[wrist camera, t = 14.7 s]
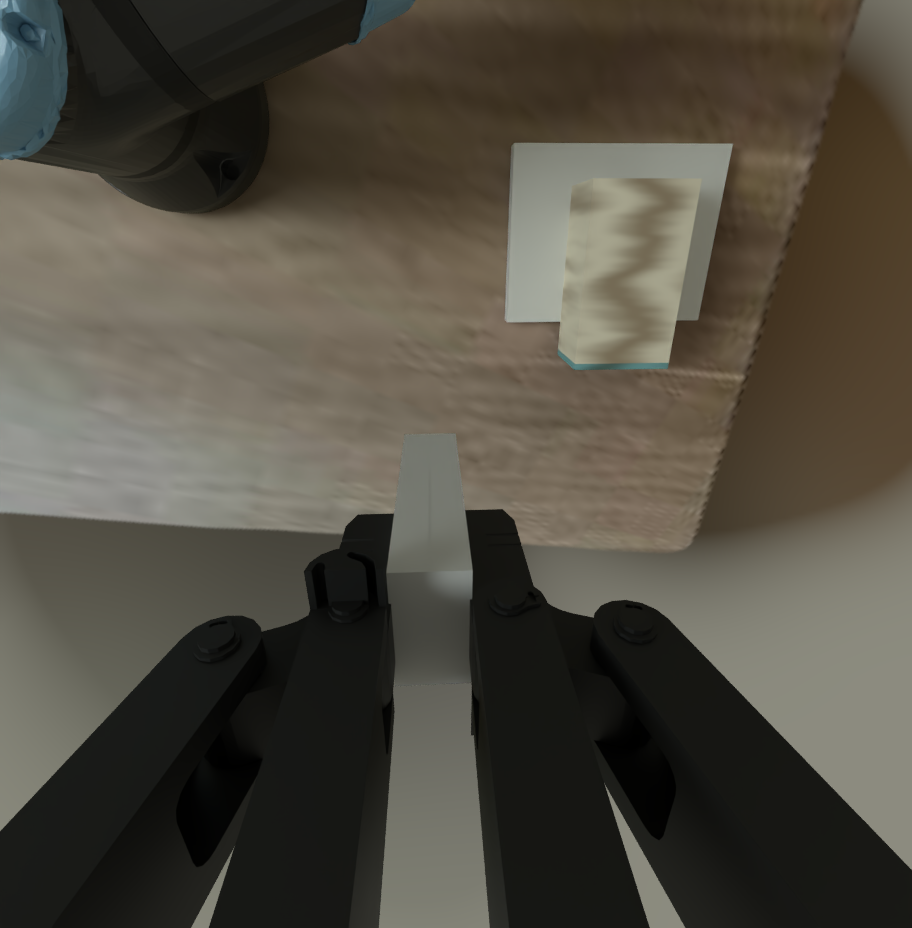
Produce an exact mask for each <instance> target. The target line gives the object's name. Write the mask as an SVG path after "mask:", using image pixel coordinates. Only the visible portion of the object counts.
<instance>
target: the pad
mask: <svg viewBox="0 0 912 928" xmlns="http://www.w3.org/2000/svg"><path fill="white" fill-rule="evenodd" d="M732 146H733V144H667V143H514V144H513V145H512V146H511V168H510V195H509V221H508V248H507V274H506V301H505V321H506V322H560V321H561V309H562V297H563V286H564V274H565V262H566V250H567V239H568V227H569V215H570V203H571V192H572V186H573V185H576V184H579V183H582V182H585V181H587V180H590V179H593V178H694V179H702V182H701V187H700V193H699V198H698V204H697V209H696V215H695V220H694V226H693V231H692V237H691V242H690V248H689V253H688V259H687V264H686V270H685V275H684V281H683V286H682V292H681V297H680V303H679V308H678V314H677V319H676V320H698V317H699V312H700V307H701V302H702V297H703V292H704V287H705V282H706V277H707V272H708V267H709V262H710V257H711V252H712V247H713V242H714V237H715V232H716V227H717V222H718V217H719V212H720V207H721V201H722V196H723V191H724V186H725V181H726V176H727V171H728V166H729V161H730V156H731V151H732Z"/></svg>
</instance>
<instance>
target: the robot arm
mask: <svg viewBox="0 0 912 928" xmlns="http://www.w3.org/2000/svg"><path fill="white" fill-rule="evenodd" d="M414 2H415V0H0V160H3V159H4V158H5V159H9V160H14V159H18V160H24V161H29V162H35V163H40V164H46V165H51V166H57V167H62V168H68V169H73V170H79V171H84V172H90V173H95V174H98V175H99V176H100V177H102V178H103V179H104V180H105V181H106V182H107V183H109V184H110V185H111V186H112V187H114V188H115V189H117V190H118V191H120V192H121V193H123V194H124V195H126V196H128V197H130V198H131V199H133V200H135V201H138V202H140V203H142V204H145V205H147V206H150V207H153V208H156V209H160V210H165V211H171V212H180V213H202V212H208V211H212V210H216V209H219V208H221V207H223V206H225V205H227V204H229V203H231V202H232V201H234V200H235V199H237V198H238V197H239V196H240V195H241V194H242V193H243V192H244V191H245V190H246V189H247V188H248V187H249V186H250V184H251V183H252V182H253V180H254V179H255V177H256V175H257V173H258V171H259V169H260V167H261V165H262V162H263V159H264V156H265V153H266V148H267V143H268V135H269V113H268V104H267V98H266V93H265V89H264V85H263V82H264V81H266V80H268V79H270V78H272V77H275V76H277V75H279V74H281V73H283V72H286V71H288V70H290V69H292V68H294V67H297V66H299V65H301V64H303V63H305V62H307V61H310V60H312V59H314V58H316V57H318V56H321V55H323V54H325V53H327V52H329V51H332V50H334V49H336V48H338V47H340V46H343V45H345V44H347V43H348V44H349V45H355V44H358V43H360V42H361V40H362V39H364V38H365V37H366V36H367V34H368V32H370V31H372V30H374V29H375V28H377V27H379V26H381V25H383V24H385V23H387V22H388V21H390V20H392V19H394V18H396V17H398V16H400V15H402V14H403V13H405V12H406V11H407V10H409V8H410V7H411V6H412V5H413V3H414ZM304 574H305V581H306V587H307V593H308V599H309V604H310V612H309V615H308V616H306V617H305V618H303V619H301V620H299V621H297V622H294V623H291V624H288V625H285V626H282V627H278V628H274V629H271V630H267V631H263V632H261V628H260V626H259V625H258V624H257V623H256V622H255V621H254V620H253V619H250V618H247V617H244V616H225V617H221V618H217V619H213V620H210V621H208V622H206V623H204V624H202V625H200V626H198V627H196V628H194V629H193V630H192V631H190V632H189V633H188V634H187V635H185V636H184V637H183V638H182V639H181V640H180V641H179V642H178V643H177V644H176V645H175V646H174V647H173V648H172V649H171V651H170V652H169V653H168V654H167V655H166V656H165V657H164V658H163V659H162V660H161V661H160V662H159V663H158V664H157V665H156V666H155V667H154V669H153V670H152V671H151V672H150V673H149V674H148V675H147V676H146V677H145V678H144V679H143V680H142V681H141V682H140V684H138V686H137V687H136V688H135V689H134V690H133V691H132V692H131V693H130V694H129V695H128V696H127V697H126V698H125V699H124V700H123V701H122V702H121V704H120V705H119V706H118V707H117V708H116V709H115V710H114V711H113V712H112V713H111V714H110V715H109V716H108V717H107V718H106V720H105V721H104V722H103V723H102V724H101V725H100V726H99V727H98V728H97V729H96V730H95V731H94V732H93V733H92V734H91V736H89V738H88V739H87V740H86V741H85V742H84V743H83V744H82V745H81V746H80V747H79V748H78V749H77V750H76V751H75V752H74V753H73V755H72V756H71V757H70V758H69V759H68V760H67V761H66V762H65V763H64V764H63V765H62V766H61V767H60V768H59V770H57V772H56V773H55V774H54V775H53V776H52V777H51V778H50V779H49V780H48V781H47V782H46V783H45V784H44V785H43V787H42V788H41V789H40V790H39V791H38V792H37V793H36V794H35V795H34V796H33V797H32V798H31V799H30V800H29V801H28V803H26V804H25V806H24V807H23V808H22V809H21V810H20V811H19V812H18V813H17V814H16V815H15V816H14V817H13V818H12V819H11V820H10V821H9V823H8V824H7V825H6V826H5V827H4V828H3V829H2V830H1V831H0V928H191V927H192V925H193V923H194V921H195V919H196V917H197V915H198V914H199V912H200V910H201V908H202V906H203V904H204V902H205V900H206V899H207V896H208V895H209V893H210V891H211V889H212V887H213V885H214V884H215V882H216V880H217V878H218V876H219V874H220V872H221V870H222V869H223V867H224V865H225V863H226V861H227V859H228V857H229V856H230V854H231V852H232V850H233V848H234V850H233V854H232V857H231V860H230V863H229V866H228V869H227V872H226V876H225V879H224V882H223V885H222V888H221V891H220V894H219V897H218V901H217V904H216V907H215V910H214V914H213V916H212V919H211V923H210V926H209V928H379V915H380V902H381V888H382V875H383V861H384V847H385V834H386V820H387V806H388V793H389V792H388V791H389V779H390V765H391V752H392V738H393V724H394V699H393V685H394V680H395V686H411V685H436V684H459V683H472V712H471V735H474V743H475V755H476V767H477V778H478V791H479V801H480V814H481V826H482V839H483V851H484V862H485V875H486V887H487V898H488V911H489V923H490V928H650V927H649V924H648V921H647V918H646V915H645V911H644V909H643V905H642V902H641V899H640V895H639V893H638V889H637V886H636V883H635V880H634V877H633V873H632V870H631V867H630V864H629V861H628V858H627V854H626V851H625V848H624V845H623V841H622V838H621V835H620V832H619V829H618V826H617V822H616V819H615V816H614V813H613V810H612V807H611V804H610V800H609V797H608V794H607V791H606V788H605V785H606V787H607V788H608V790H609V792H610V794H611V796H612V798H613V799H614V801H615V803H616V805H617V806H618V808H619V810H620V812H621V814H622V815H623V817H624V819H625V821H626V823H627V824H628V826H629V828H630V830H631V831H632V833H633V835H634V837H635V839H636V840H637V842H638V844H639V846H640V847H641V849H642V851H643V853H644V855H645V856H646V858H647V860H648V862H649V864H650V865H651V867H652V869H653V871H654V872H655V874H656V876H657V878H658V880H659V881H660V883H661V885H662V887H663V889H664V890H665V892H666V894H667V896H668V897H669V899H670V901H671V903H672V905H673V906H674V908H675V910H676V912H677V914H678V915H679V917H680V919H681V921H682V922H683V924H684V926H685V928H912V870H911V869H910V868H909V867H908V866H907V865H906V864H905V863H904V862H903V861H902V860H901V859H900V858H899V856H898V855H897V854H896V853H895V852H894V851H893V850H892V849H891V848H890V847H889V846H888V845H887V844H886V843H885V842H884V841H883V840H882V839H881V838H880V837H879V836H878V835H877V834H876V833H875V832H874V831H873V830H872V829H871V828H870V826H869V825H868V824H867V823H866V822H865V821H864V820H863V819H862V818H861V817H860V816H859V815H858V814H857V813H856V812H855V811H854V810H853V809H852V808H851V807H850V806H849V805H848V804H847V803H846V802H845V801H844V800H843V799H842V798H841V797H840V796H839V795H838V794H837V792H836V791H835V790H834V789H833V788H832V787H831V786H830V785H829V784H828V783H827V782H826V781H825V780H824V779H823V778H822V777H821V776H820V775H819V774H818V773H817V772H816V771H815V770H814V769H813V768H812V767H811V766H810V765H809V764H808V763H807V762H806V760H805V759H804V758H803V757H802V756H801V755H800V754H799V753H798V752H797V751H796V750H795V749H794V748H793V747H792V746H791V745H790V744H789V743H788V742H787V741H786V740H785V739H784V738H783V737H782V736H781V735H780V734H779V733H778V732H777V731H776V730H775V729H774V728H773V726H772V725H771V724H770V723H769V722H768V721H767V720H766V719H765V718H764V717H763V716H762V715H761V714H760V713H759V712H758V711H757V710H756V709H755V708H754V707H753V706H752V705H751V704H750V703H749V702H748V701H747V700H746V699H745V698H744V696H742V694H741V693H740V692H739V691H738V690H737V689H736V688H735V687H734V686H733V685H732V684H731V683H730V682H729V681H728V680H727V679H726V678H725V677H724V676H723V675H722V674H721V673H720V672H719V671H718V670H717V669H716V668H715V667H714V666H713V665H712V663H711V662H710V661H709V660H708V659H707V658H706V657H705V656H704V655H703V654H702V653H701V652H700V651H699V650H698V649H697V648H696V647H695V646H694V645H693V644H692V643H691V642H690V641H689V640H688V639H687V638H686V637H685V636H684V635H683V634H682V633H681V631H679V629H678V628H676V626H675V625H674V624H673V623H672V622H671V621H670V620H669V619H668V618H666V617H665V616H664V615H662V614H661V613H660V612H659V611H657V610H656V609H654V608H652V607H649V606H647V605H645V604H643V603H639V602H633V601H628V600H621V601H611V602H609V603H606V604H604V605H602V606H600V608H599V609H598V610H597V611H596V612H595V615H594V618H592V617H587V616H582V615H578V614H573V613H569V612H566V611H562V610H559V609H557V608H555V607H553V606H551V605H550V604H548V603H547V601H546V599H545V597H544V596H543V594H542V593H541V591H539V590H538V589H537V588H535V587H534V586H533V583H532V579H531V576H530V572H529V569H528V566H527V562H526V559H525V555H524V552H523V549H522V546H521V542H520V538H519V536H518V532H517V528H516V525H515V521H514V520H513V519H512V518H511V517H510V516H509V515H508V514H507V513H506V512H505V511H504V510H503V509H497V510H465V506H464V498H463V490H462V482H461V474H460V466H459V458H458V450H457V442H456V434H455V433H452V434H405V435H404V443H403V450H402V458H401V466H400V473H399V481H398V488H397V496H396V503H395V511H394V514H364V515H357V516H356V517H355V518H354V519H353V520H352V521H351V522H350V523H349V524H348V525H347V526H346V528H345V531H344V535H343V538H342V542H341V545H340V548H339V549H336V550H333V551H330V552H327V553H325V554H322V555H320V556H319V557H317V558H316V559H314V560H313V561H312V562H310V563H309V565H308V566H307V568H306V569H305V571H304ZM604 783H605V784H604ZM234 846H235V847H234Z"/></svg>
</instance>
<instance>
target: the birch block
mask: <svg viewBox="0 0 912 928" xmlns="http://www.w3.org/2000/svg"><path fill="white" fill-rule="evenodd" d="M701 182H702V179H694V178H593V179H590V180H587V181H585V182H582V183H579V184H576V185H573V186H572V192H571V203H570V215H569V227H568V239H567V250H566V262H565V274H564V286H563V297H562V309H561V321H560V332H559V344H558V355H559V356H560V357H561V358H562V359H563V360H564V361H565V362H566V363H567V364H569V365H570V366H571V367H572V368H573V369H574V370H601V369H668V363H669V358H670V352H671V347H672V341H673V336H674V330H675V325H676V319H677V314H678V308H679V303H680V297H681V292H682V286H683V281H684V275H685V270H686V264H687V259H688V253H689V248H690V242H691V237H692V231H693V226H694V220H695V215H696V209H697V204H698V198H699V193H700V187H701Z"/></svg>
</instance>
